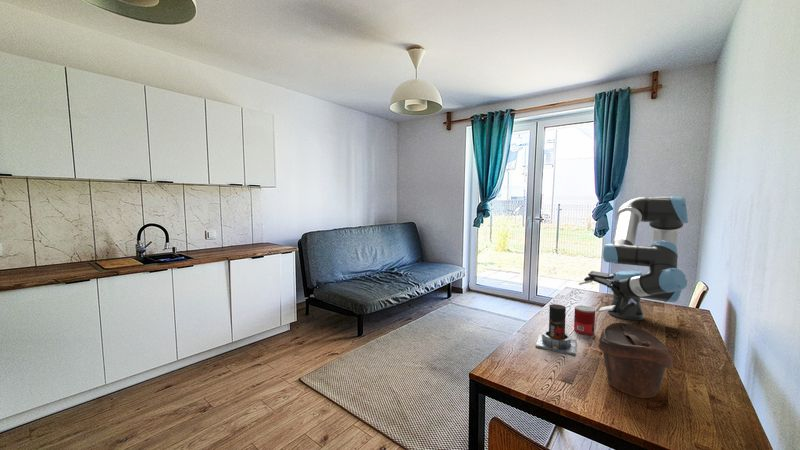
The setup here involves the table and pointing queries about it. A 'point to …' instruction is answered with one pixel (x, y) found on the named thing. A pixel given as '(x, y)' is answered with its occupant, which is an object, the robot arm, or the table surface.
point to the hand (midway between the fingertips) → (590, 295)
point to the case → (634, 359)
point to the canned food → (584, 320)
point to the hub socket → (556, 343)
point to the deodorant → (557, 321)
